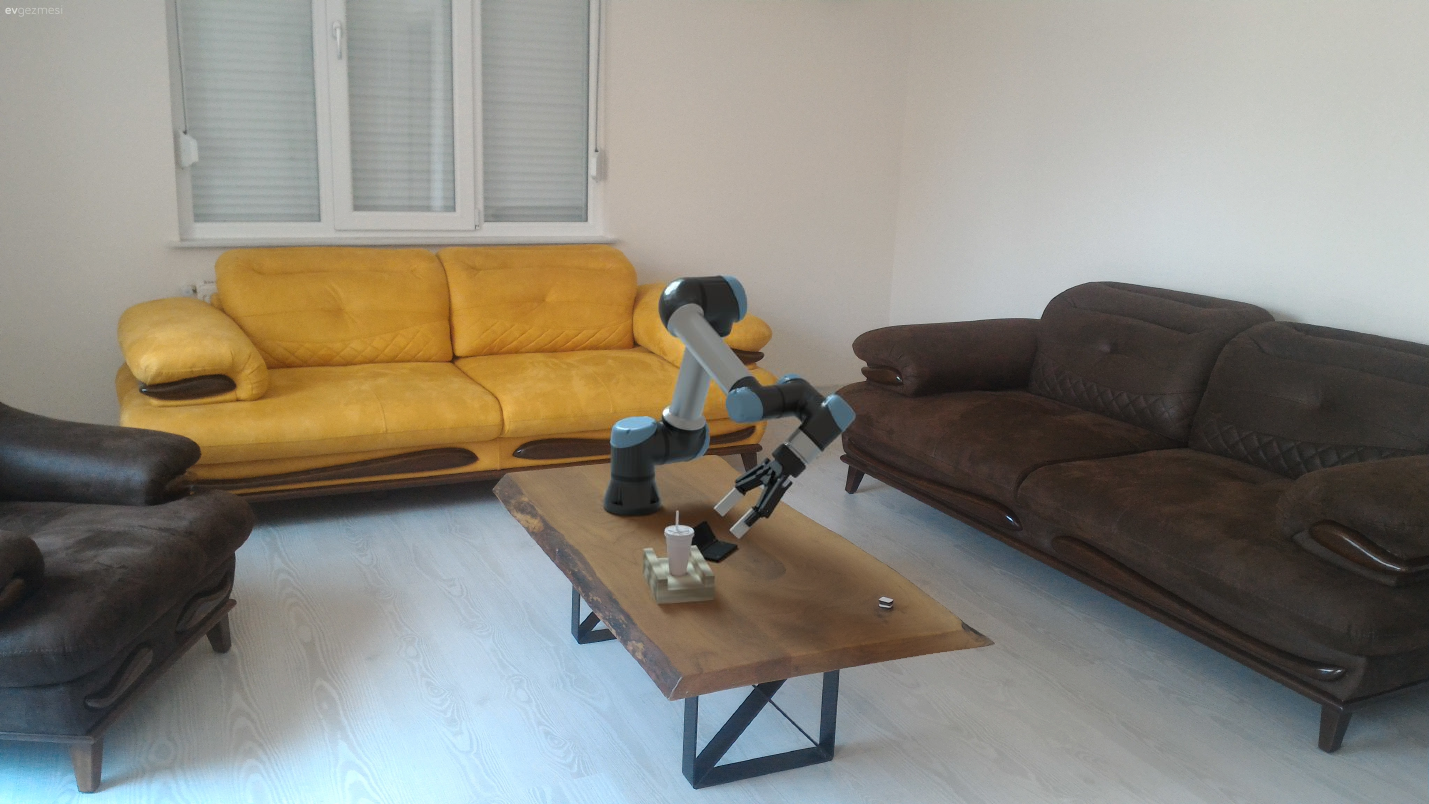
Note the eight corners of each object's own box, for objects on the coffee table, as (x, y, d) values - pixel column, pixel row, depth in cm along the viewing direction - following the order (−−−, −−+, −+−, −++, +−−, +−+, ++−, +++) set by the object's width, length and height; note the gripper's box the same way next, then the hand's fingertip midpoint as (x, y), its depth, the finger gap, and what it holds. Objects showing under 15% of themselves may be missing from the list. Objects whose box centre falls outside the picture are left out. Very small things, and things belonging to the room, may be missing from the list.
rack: (642, 571, 227) (643, 548, 226) (695, 568, 230) (695, 545, 229) (657, 604, 211) (658, 579, 210) (713, 599, 214) (714, 575, 213)
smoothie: (662, 566, 223) (664, 505, 220) (691, 566, 224) (694, 506, 220) (663, 578, 217) (665, 516, 214) (693, 578, 217) (696, 516, 214)
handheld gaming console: (726, 557, 233) (704, 520, 234) (701, 572, 235) (679, 535, 236) (740, 547, 244) (719, 511, 245) (716, 561, 246) (695, 525, 247)
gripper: (826, 483, 210) (753, 555, 210) (788, 449, 233) (722, 514, 233) (803, 459, 207) (729, 533, 207) (767, 427, 231) (701, 493, 231)
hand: (725, 523), depth 220 cm, fingers open, 13 cm apart
